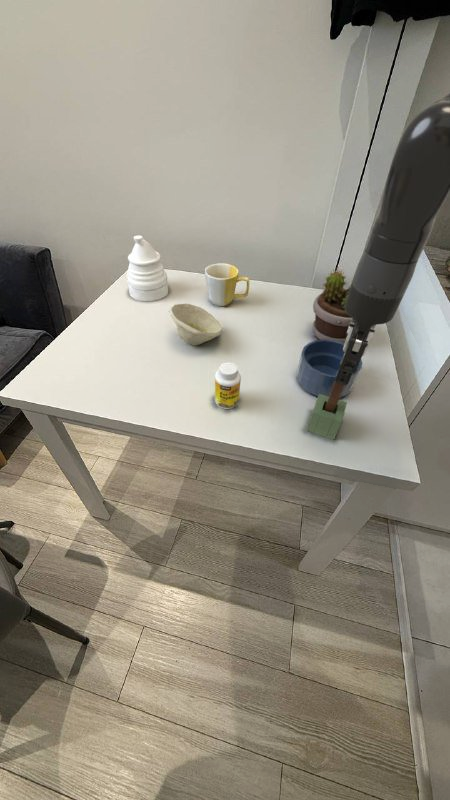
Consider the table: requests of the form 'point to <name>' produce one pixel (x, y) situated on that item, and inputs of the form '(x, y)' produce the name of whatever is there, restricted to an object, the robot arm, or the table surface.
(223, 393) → the supplement bottle
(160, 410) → the table surface
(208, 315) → the bowl
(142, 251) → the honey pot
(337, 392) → the brown stick
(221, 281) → the mug
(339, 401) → the stick holder
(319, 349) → the blue round tub
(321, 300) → the flowerpot
